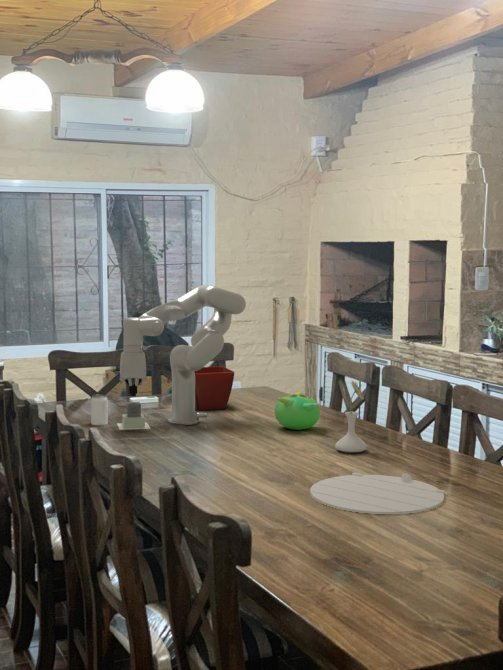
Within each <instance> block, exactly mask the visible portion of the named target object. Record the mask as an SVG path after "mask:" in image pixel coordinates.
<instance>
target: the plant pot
mask: <svg viewBox="0 0 503 670" xmlns="http://www.w3.org/2000/svg"><path fill="white" fill-rule="evenodd" d="M194 372H195V410H196V411H197V410H198V411H204V410H205V411H207V410H223V409H226V408H227V406H228V403H229V400H230V396H231V393H232V389H233V383H234V378H235V371H233V370H232V369H229V368H227V367H225V366H204V367H203V368H202V369H200V370H198V371H194Z"/></svg>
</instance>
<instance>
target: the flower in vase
mask: <svg viewBox="0 0 503 670" xmlns="http://www.w3.org/2000/svg"><path fill="white" fill-rule="evenodd" d="M350 383H351V386H352V388H353V390H354V391H353V393H352V394H351V395H352V396H351V398H350V400H348V401H349V402H348V403H349V409H350V411H345V412H344V414H345V416H346V419H347V423H348V424H347V425H348V427H347V428H348V429H347V433H346V434H345V435H344V436H343V437H341V438H340V439H339V440H338V441H337V442H336V443H335V444H334V448H336V450H338V451H340V452H344V453H360V452H361V453H362V452H363V451H366V450H367V448H368V446H367V443H366V442H365V441H364V440H363V439H362V438H360V437H359V436H358V435H357V434H356V431H355V429H356V428H355V425H356V419H357V417H358V415H359V414H360V413H359V412H358V411H353V410H352V409H354V408H356V407H357V405H356V404H355V403H354V404H353V405H352V400H353V398H354V395H355V394H356V395H357V396H358V398H359V399H360V400H362V401H363V400H365V397H364V393H363V392H362V390H361V387H360V386H358V384H357V382H356V381H354V380H351V382H350Z"/></svg>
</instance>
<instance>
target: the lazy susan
mask: <svg viewBox="0 0 503 670" xmlns="http://www.w3.org/2000/svg"><path fill="white" fill-rule="evenodd" d="M444 494H448V495H449V492H447V490H443V489H439V488H438V487H436V486H434V485H432V484H429V483H427V482H424V481H420V480H415V479H413V478H412V475H410V474H409V473H402V474H401V477H400V476H394V475H382V474H363V473H359V472H352V474H347V475H340V476H334V477H329V478H325V479H321V480H320V481H317V482H316V483H313V484H312V486H311V487H310V489H309V495H310V496H311V498H312V499H313V500H314V499H315V500H314V501H316V502H317V501H318V503H319V504H321V505H323V504H324V506H326V505H327V507H329V506H330V507H329V508H332V507H333V509H335V508H336V509H335V510H339V509H340V510H339V511H344V510H346V511H345V512H349V511H352V512H351V513H355V512H359V513H358V514H363V513H370V514H369V515H375V514H400V515H409V513H413V514H418V513H417V512H419V513H423V512H422V511H424V512H427V511H426V510H428V511H430V510H429V509H432V510H434V509H436V508H438V507H439V506H438V505H440V504H441V503H442V502H443V500H444V501H445V495H444ZM443 503H444V502H443ZM443 503H442V504H443ZM442 504H441V505H442ZM441 505H440V506H441ZM437 506H438V507H437ZM435 507H436V508H435ZM433 508H434V509H433Z"/></svg>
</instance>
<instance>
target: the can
mask: <svg viewBox="0 0 503 670" xmlns="http://www.w3.org/2000/svg"><path fill="white" fill-rule="evenodd" d="M108 408H109V406H108V397H107V395H105V394H94V395H92V396H91V399H90V421H91V422H90V423H91V425H93V426H106V425H108V423H109V422H108V421H109V420H108V418H109V417H108V413H109V411H108V410H109V409H108Z"/></svg>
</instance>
